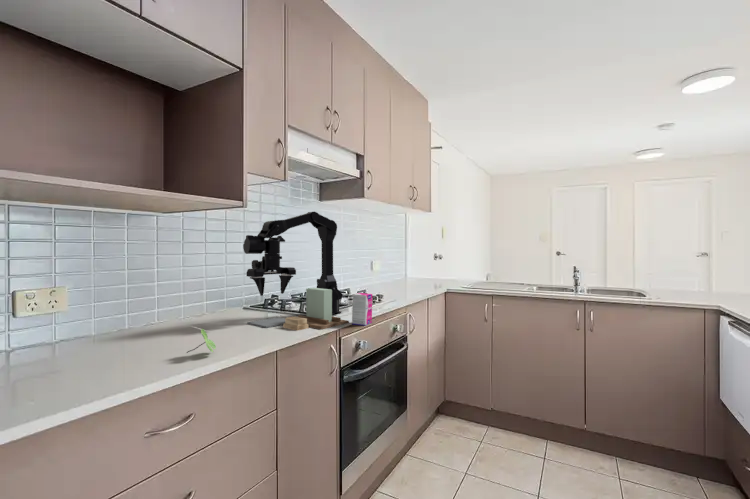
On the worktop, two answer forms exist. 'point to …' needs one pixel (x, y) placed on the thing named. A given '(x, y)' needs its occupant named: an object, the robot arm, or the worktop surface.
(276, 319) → the mat
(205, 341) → the seedling
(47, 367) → the worktop surface
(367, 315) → the supplement box
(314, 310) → the sage green block
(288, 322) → the offcut upper
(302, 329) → the offcut lower
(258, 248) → the robot arm
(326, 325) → the rack
